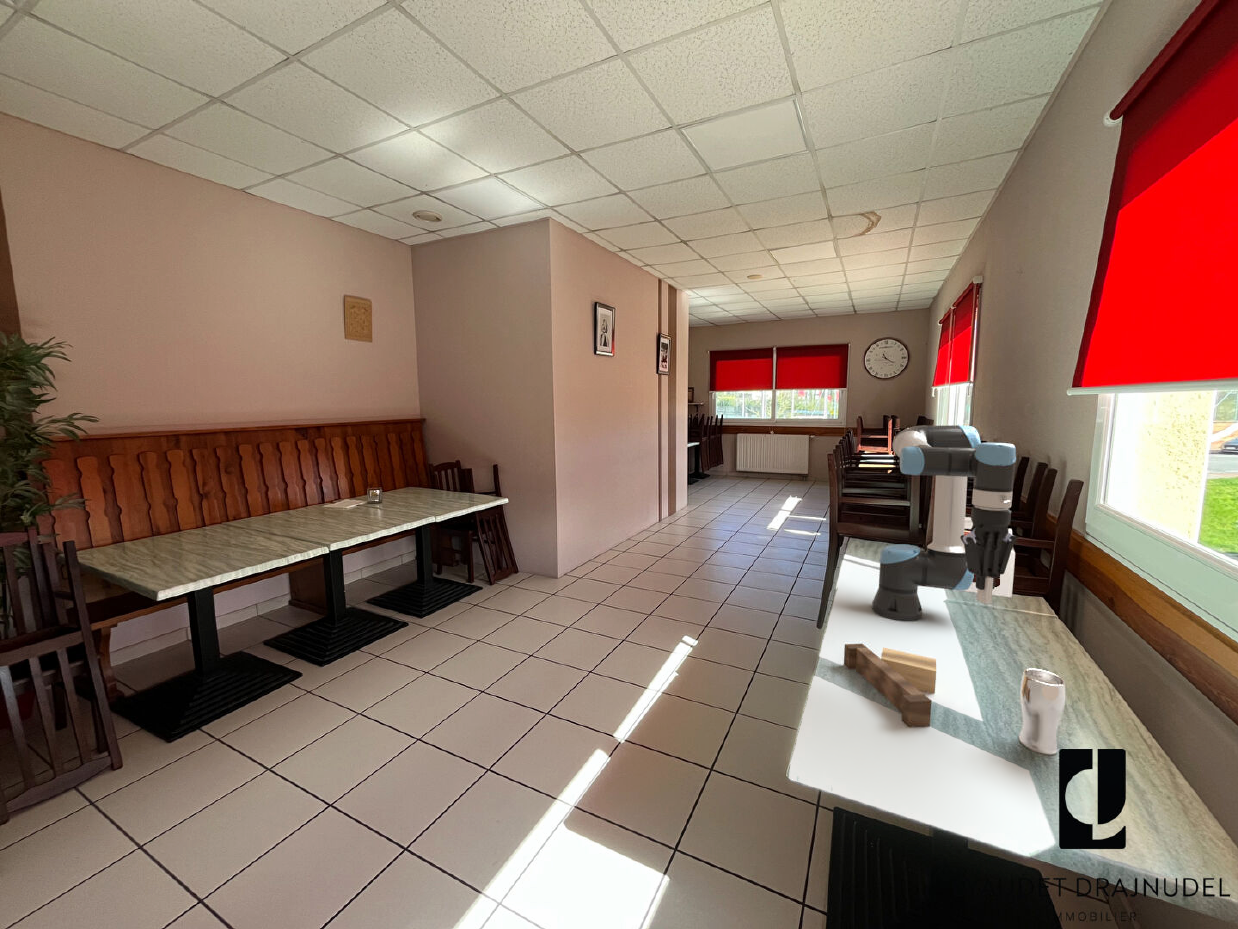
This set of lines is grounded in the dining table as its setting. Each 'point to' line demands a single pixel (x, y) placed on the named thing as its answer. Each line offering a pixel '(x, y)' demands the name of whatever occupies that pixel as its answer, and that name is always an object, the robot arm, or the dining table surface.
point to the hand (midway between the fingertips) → (983, 601)
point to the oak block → (912, 668)
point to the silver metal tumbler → (1041, 709)
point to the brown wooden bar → (890, 685)
